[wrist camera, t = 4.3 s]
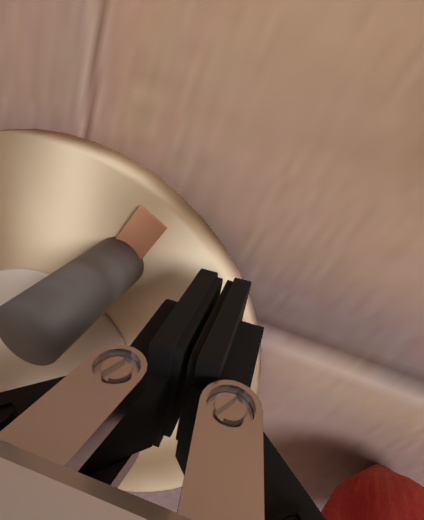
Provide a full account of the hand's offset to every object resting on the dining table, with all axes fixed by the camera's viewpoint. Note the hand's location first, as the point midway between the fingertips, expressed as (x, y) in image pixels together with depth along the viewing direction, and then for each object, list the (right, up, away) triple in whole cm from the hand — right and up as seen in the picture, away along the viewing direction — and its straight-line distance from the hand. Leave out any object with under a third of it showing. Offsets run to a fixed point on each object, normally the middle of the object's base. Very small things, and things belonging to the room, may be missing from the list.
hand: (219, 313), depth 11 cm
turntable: (-7, -2, +7) cm, 11 cm away
